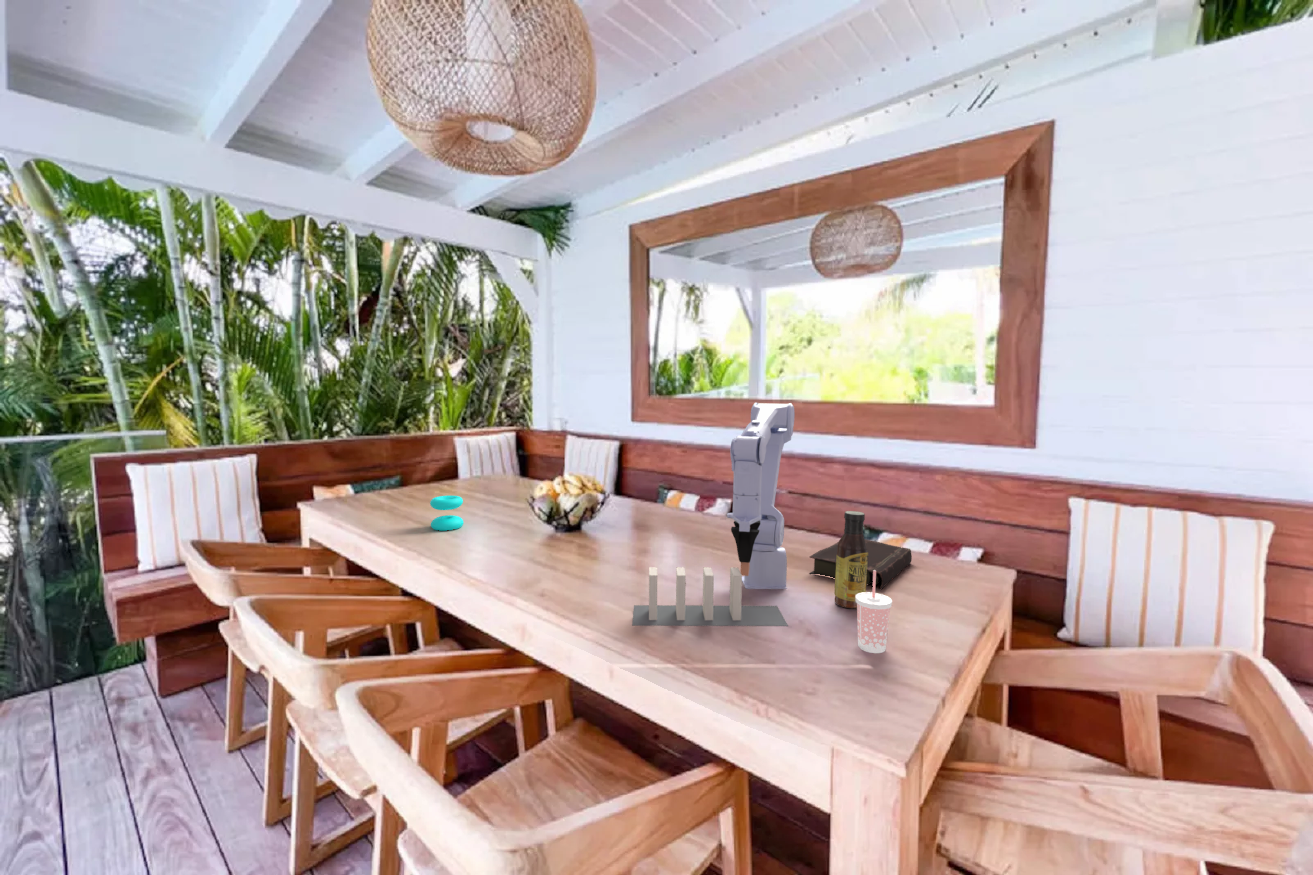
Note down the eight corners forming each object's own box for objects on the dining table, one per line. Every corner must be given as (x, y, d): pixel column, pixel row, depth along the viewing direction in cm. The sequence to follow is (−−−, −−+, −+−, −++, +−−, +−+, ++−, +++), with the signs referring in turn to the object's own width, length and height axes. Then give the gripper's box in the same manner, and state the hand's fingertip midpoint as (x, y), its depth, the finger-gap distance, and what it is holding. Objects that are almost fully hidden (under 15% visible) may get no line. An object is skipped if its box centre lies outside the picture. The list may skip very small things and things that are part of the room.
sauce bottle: (849, 612, 117) (853, 517, 115) (827, 602, 122) (830, 511, 120) (872, 606, 120) (876, 514, 118) (849, 597, 125) (853, 508, 124)
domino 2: (683, 610, 116) (684, 567, 116) (685, 620, 111) (685, 575, 111) (675, 610, 116) (676, 567, 116) (676, 620, 111) (677, 575, 111)
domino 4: (737, 610, 116) (738, 567, 116) (741, 620, 111) (741, 575, 111) (729, 610, 116) (730, 567, 116) (732, 620, 111) (733, 575, 111)
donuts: (445, 493, 190) (469, 495, 186) (445, 523, 191) (470, 525, 187) (423, 499, 181) (448, 501, 177) (424, 530, 181) (449, 533, 178)
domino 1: (656, 610, 116) (657, 567, 116) (657, 620, 111) (657, 575, 111) (649, 610, 116) (649, 567, 116) (648, 620, 111) (649, 575, 111)
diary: (912, 566, 149) (913, 548, 149) (882, 593, 130) (883, 572, 129) (842, 552, 161) (843, 535, 160) (805, 575, 141) (806, 555, 141)
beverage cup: (897, 652, 99) (901, 574, 98) (867, 657, 97) (871, 577, 96) (874, 637, 105) (878, 563, 104) (846, 641, 103) (849, 566, 102)
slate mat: (777, 607, 119) (777, 605, 119) (788, 627, 109) (788, 625, 109) (634, 607, 119) (634, 605, 119) (632, 627, 109) (632, 625, 109)
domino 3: (710, 610, 116) (711, 567, 116) (713, 620, 111) (713, 575, 111) (702, 610, 116) (703, 567, 116) (704, 620, 111) (705, 575, 111)
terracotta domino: (740, 575, 116) (741, 532, 116) (742, 568, 121) (743, 526, 121) (748, 575, 116) (749, 532, 116) (749, 568, 121) (750, 527, 120)
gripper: (730, 487, 126) (729, 548, 126) (724, 498, 111) (722, 566, 112) (762, 489, 124) (761, 550, 125) (761, 500, 110) (759, 569, 111)
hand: (745, 558), depth 119 cm, fingers closed on terracotta domino, 5 cm apart
